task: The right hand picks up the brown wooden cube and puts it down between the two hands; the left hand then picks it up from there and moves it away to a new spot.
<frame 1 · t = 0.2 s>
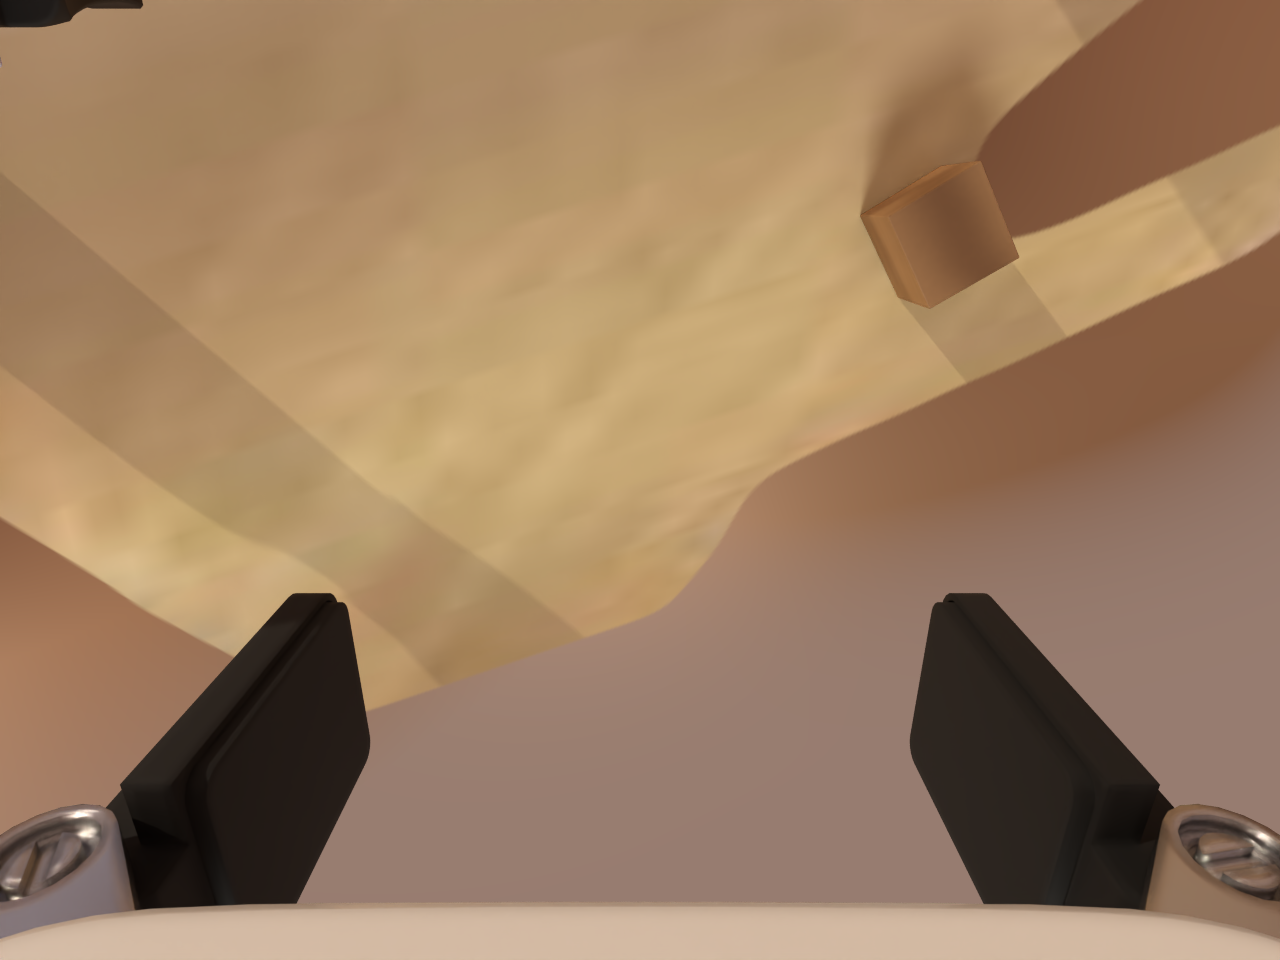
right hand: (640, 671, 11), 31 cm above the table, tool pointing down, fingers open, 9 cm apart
brown wooden cube: (919, 233, 38), on the table
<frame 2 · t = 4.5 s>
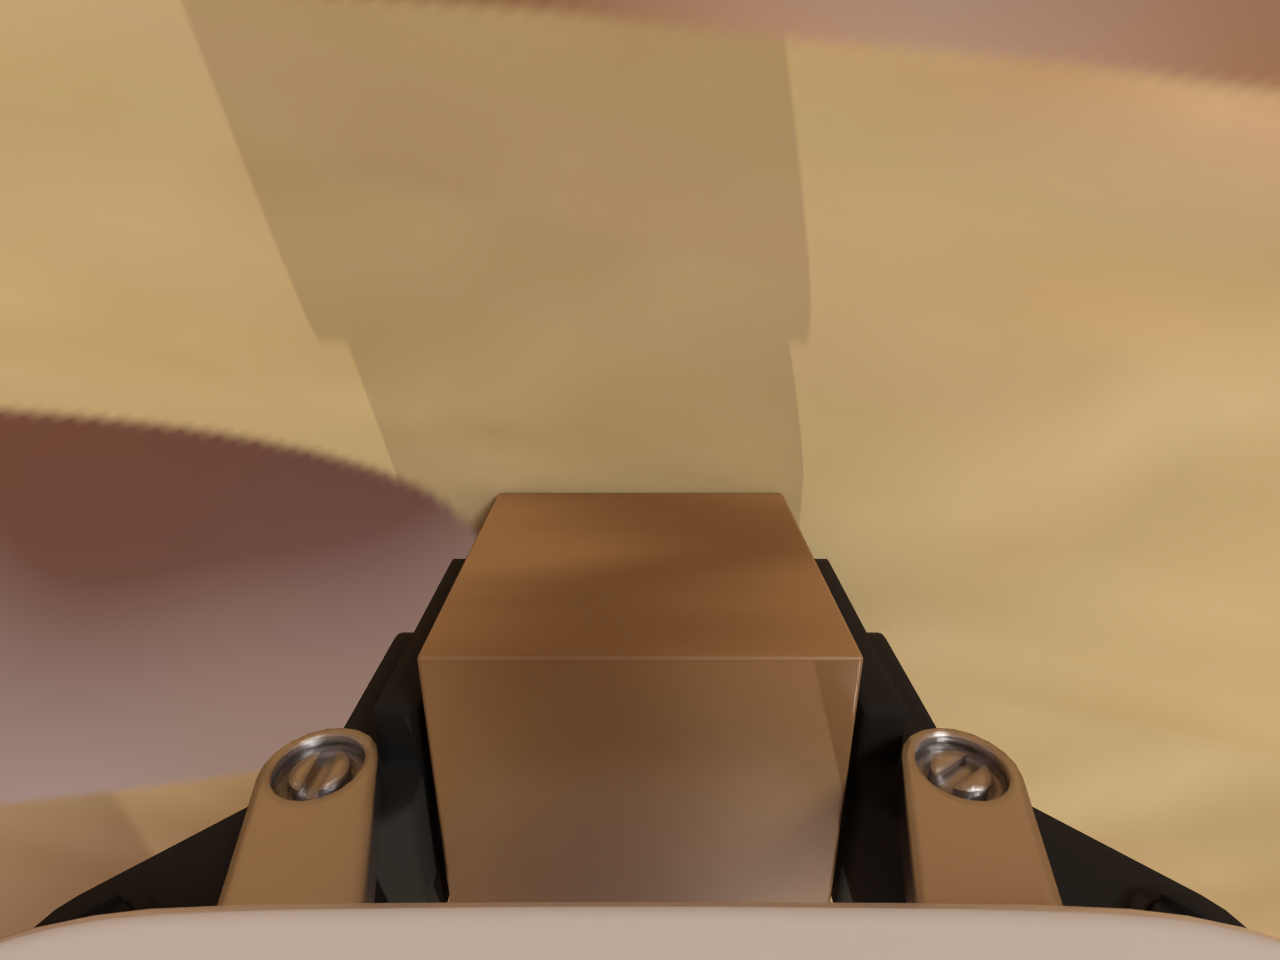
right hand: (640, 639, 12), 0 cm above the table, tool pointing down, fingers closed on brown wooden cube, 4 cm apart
brown wooden cube: (640, 623, 13), on the table, touching right hand
when the right hand's fingers open (1 cm above the table, at t = 13.4 s): brown wooden cube stays where it is, on the table.
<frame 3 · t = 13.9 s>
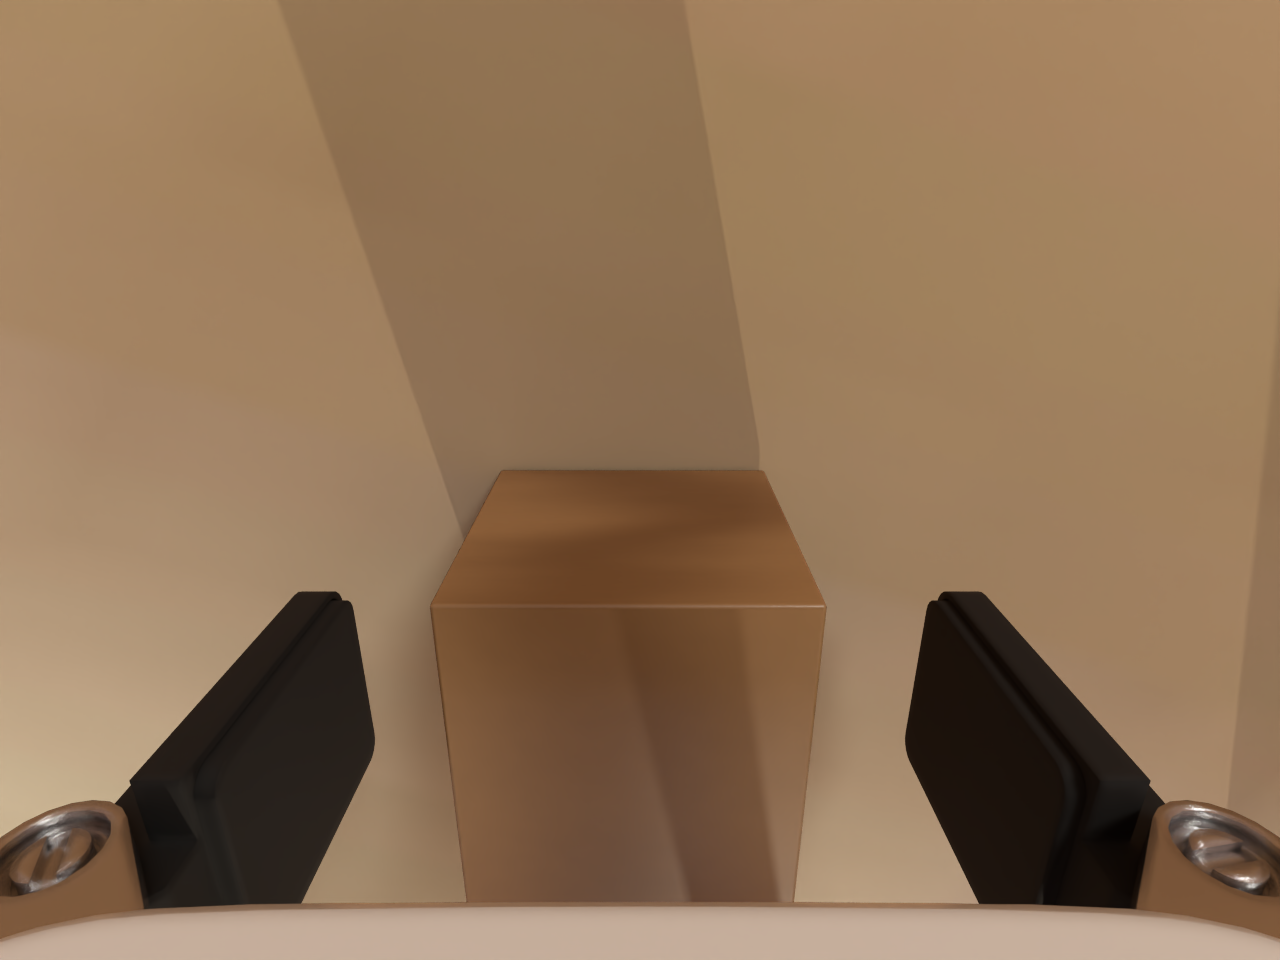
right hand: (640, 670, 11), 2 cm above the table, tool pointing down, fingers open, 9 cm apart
brown wooden cube: (632, 593, 14), on the table
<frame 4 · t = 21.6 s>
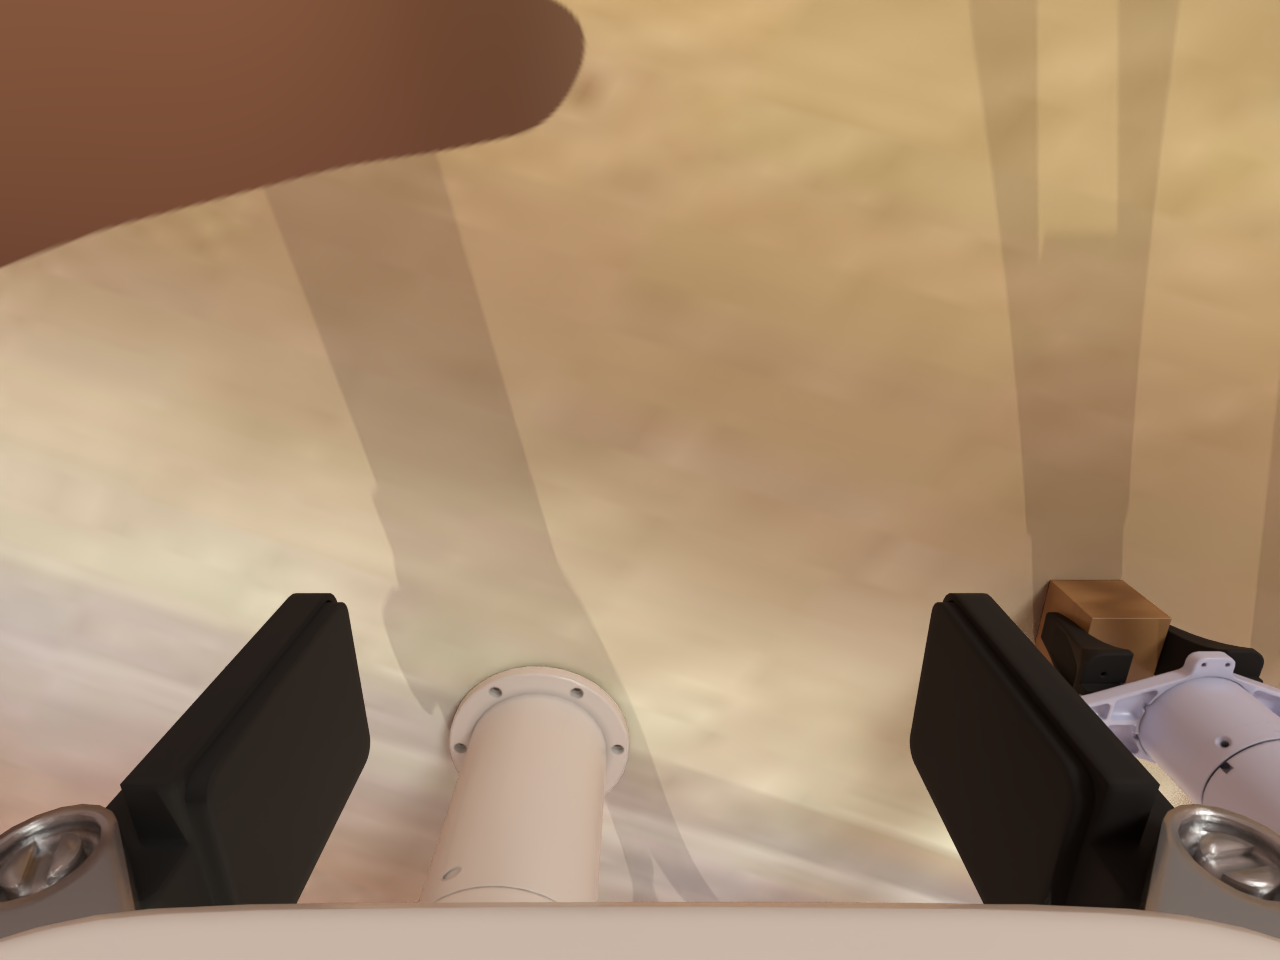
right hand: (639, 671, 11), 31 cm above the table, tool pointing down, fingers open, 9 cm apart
brown wooden cube: (1077, 613, 47), on the table, touching left hand
when the left hand's fingers open (2 cm above the table, at t = 25.7 s): brown wooden cube stays where it is, on the table.
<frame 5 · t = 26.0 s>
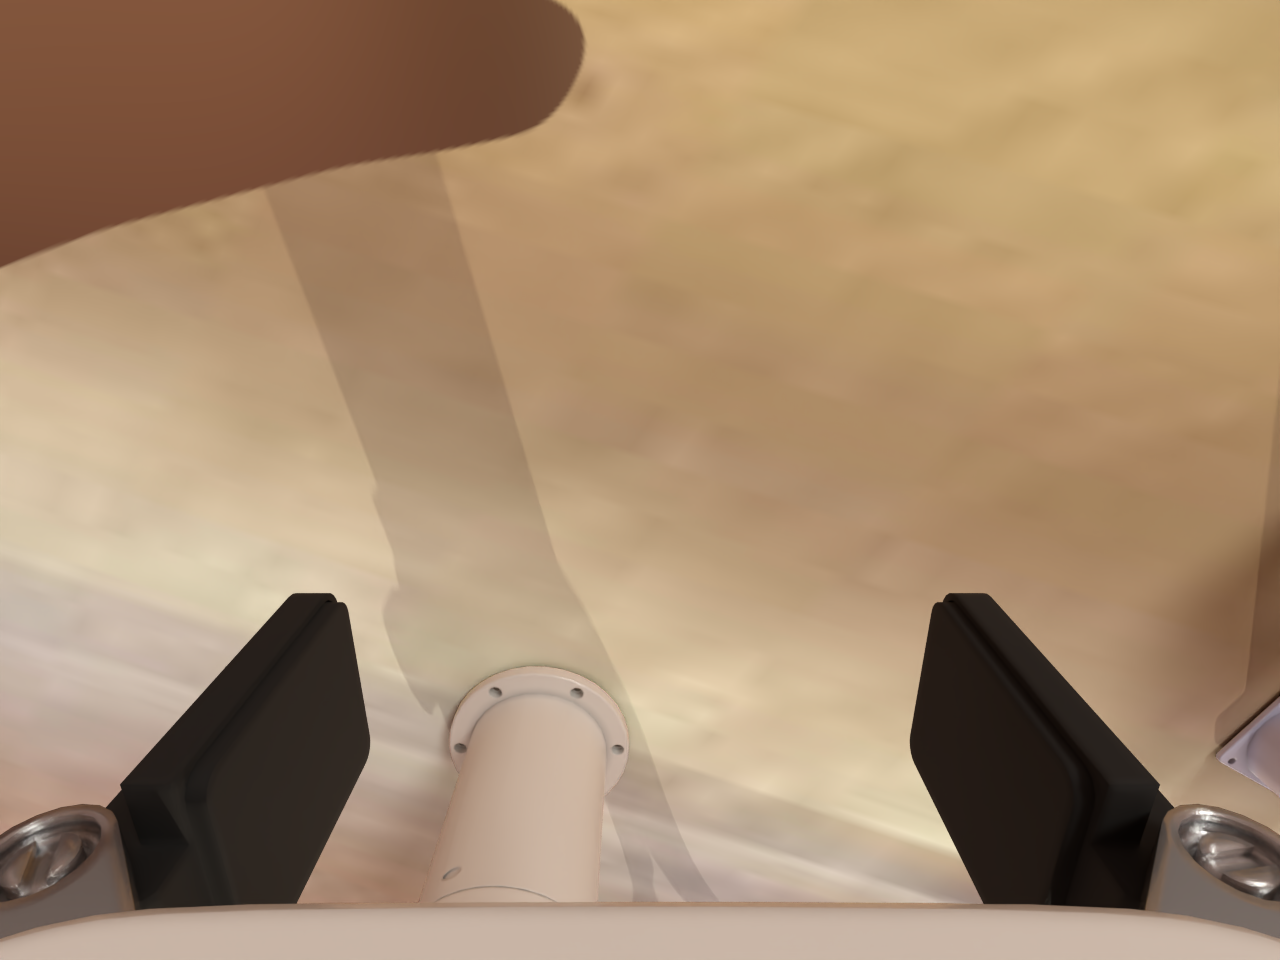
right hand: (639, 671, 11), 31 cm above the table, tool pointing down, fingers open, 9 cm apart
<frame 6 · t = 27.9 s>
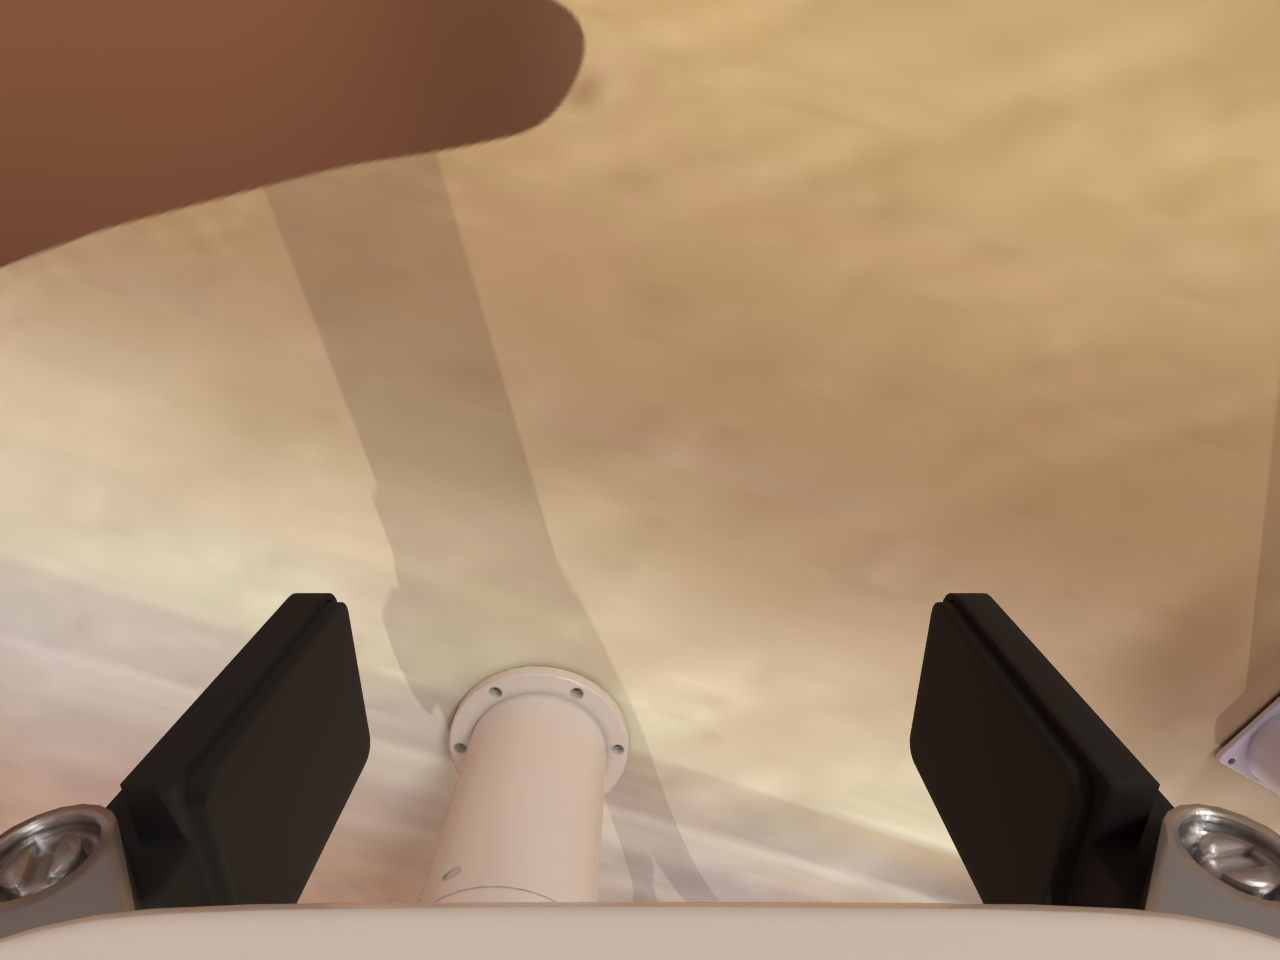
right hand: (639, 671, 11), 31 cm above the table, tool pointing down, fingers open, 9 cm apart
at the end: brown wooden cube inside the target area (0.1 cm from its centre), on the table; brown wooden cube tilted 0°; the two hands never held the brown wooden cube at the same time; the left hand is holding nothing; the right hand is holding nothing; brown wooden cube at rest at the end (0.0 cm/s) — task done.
